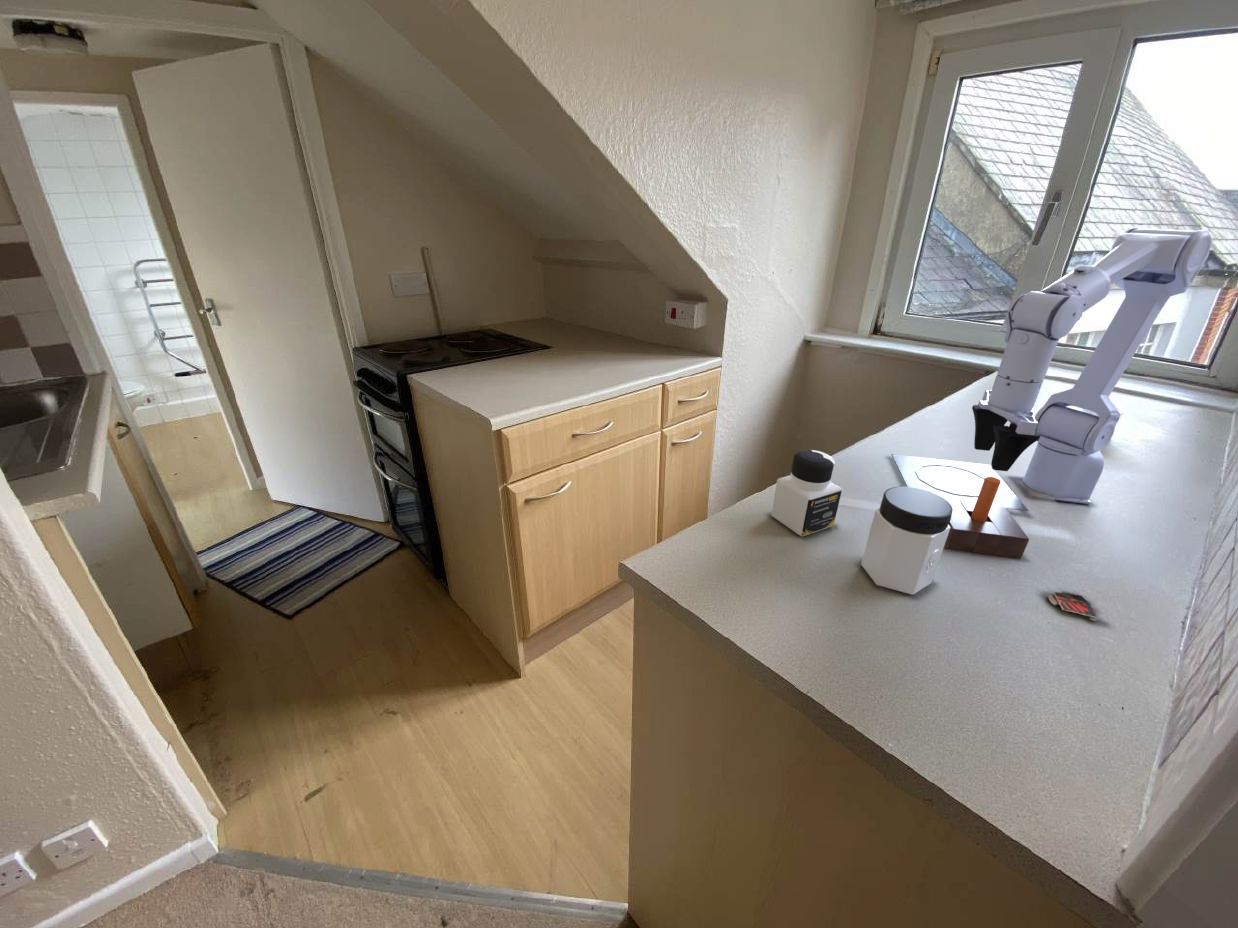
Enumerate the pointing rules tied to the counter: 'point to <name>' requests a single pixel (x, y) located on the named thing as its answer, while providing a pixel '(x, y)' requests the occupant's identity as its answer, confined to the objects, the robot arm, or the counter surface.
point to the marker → (985, 499)
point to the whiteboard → (953, 479)
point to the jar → (907, 539)
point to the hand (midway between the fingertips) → (990, 459)
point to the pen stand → (985, 531)
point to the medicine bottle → (807, 494)
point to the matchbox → (1073, 604)
